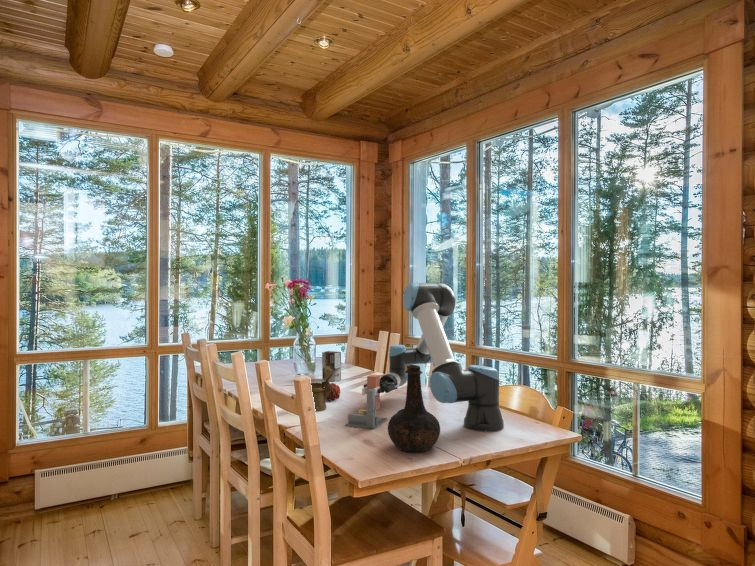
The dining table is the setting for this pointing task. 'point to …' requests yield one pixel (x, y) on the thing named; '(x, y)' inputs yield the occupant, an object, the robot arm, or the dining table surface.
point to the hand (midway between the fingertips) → (368, 392)
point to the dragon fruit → (333, 392)
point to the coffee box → (331, 365)
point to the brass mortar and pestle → (321, 392)
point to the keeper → (366, 415)
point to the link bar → (373, 383)
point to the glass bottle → (413, 418)
